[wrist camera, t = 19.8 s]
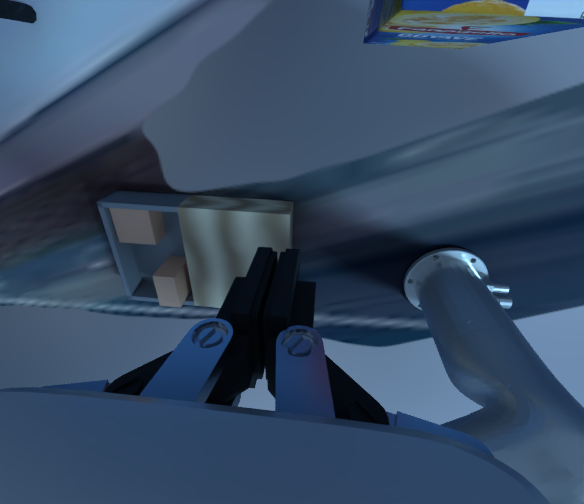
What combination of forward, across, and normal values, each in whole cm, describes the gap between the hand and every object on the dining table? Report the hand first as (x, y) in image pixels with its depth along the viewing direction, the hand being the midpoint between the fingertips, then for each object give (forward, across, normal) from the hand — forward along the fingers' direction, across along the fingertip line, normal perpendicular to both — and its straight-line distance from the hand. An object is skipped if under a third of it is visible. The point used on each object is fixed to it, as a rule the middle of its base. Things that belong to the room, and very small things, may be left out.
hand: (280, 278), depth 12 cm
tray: (+33, +25, +18) cm, 45 cm away
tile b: (+28, +27, +13) cm, 41 cm away
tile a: (+29, +21, +23) cm, 42 cm away
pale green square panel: (+33, +11, +18) cm, 39 cm away
